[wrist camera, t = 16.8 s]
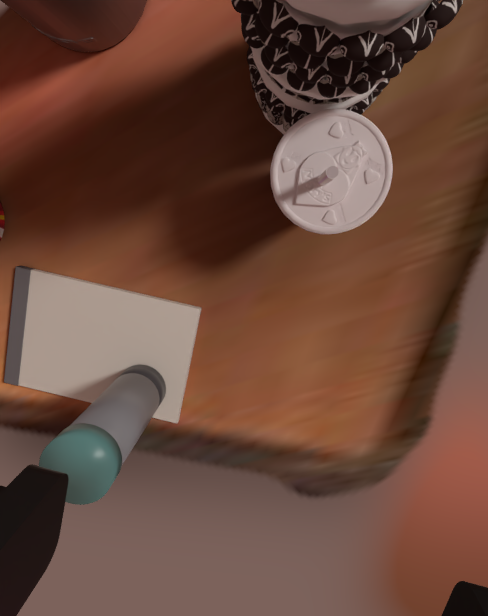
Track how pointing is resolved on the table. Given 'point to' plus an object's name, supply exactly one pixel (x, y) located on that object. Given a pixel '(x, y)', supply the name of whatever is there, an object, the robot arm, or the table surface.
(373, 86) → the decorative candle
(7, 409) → the table surface
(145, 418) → the marker
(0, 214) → the soda can
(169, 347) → the notepad
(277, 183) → the smoothie
